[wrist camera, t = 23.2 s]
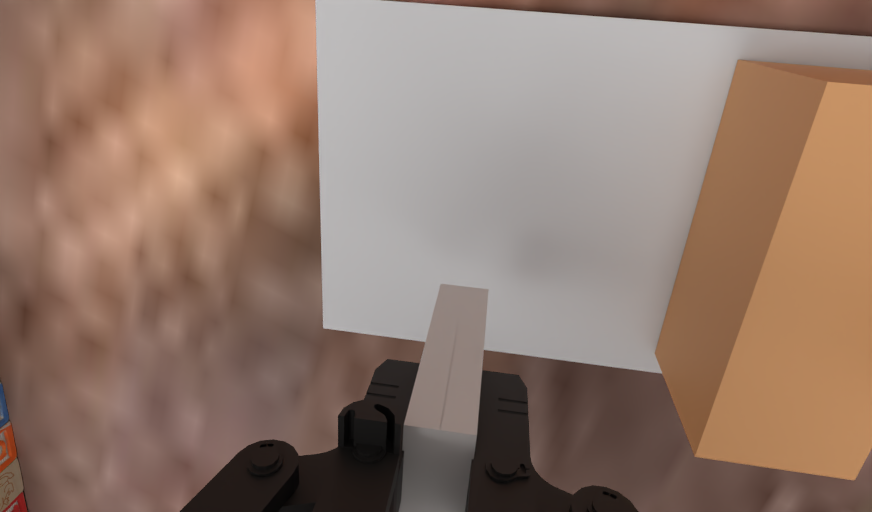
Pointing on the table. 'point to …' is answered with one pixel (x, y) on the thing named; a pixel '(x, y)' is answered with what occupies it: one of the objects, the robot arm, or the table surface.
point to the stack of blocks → (9, 465)
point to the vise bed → (523, 165)
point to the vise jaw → (780, 277)
